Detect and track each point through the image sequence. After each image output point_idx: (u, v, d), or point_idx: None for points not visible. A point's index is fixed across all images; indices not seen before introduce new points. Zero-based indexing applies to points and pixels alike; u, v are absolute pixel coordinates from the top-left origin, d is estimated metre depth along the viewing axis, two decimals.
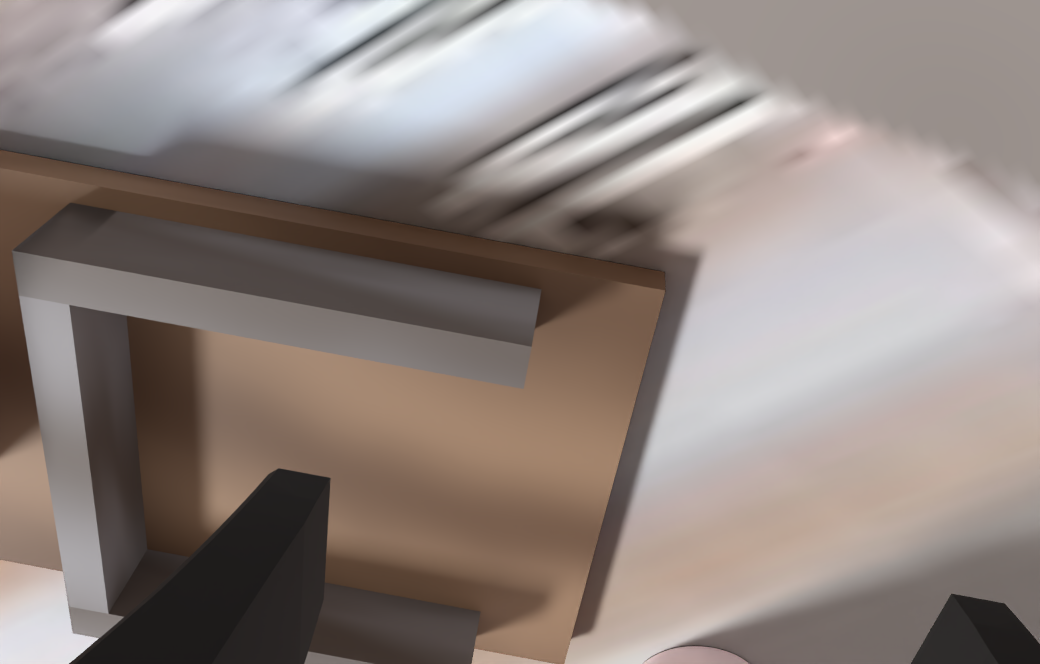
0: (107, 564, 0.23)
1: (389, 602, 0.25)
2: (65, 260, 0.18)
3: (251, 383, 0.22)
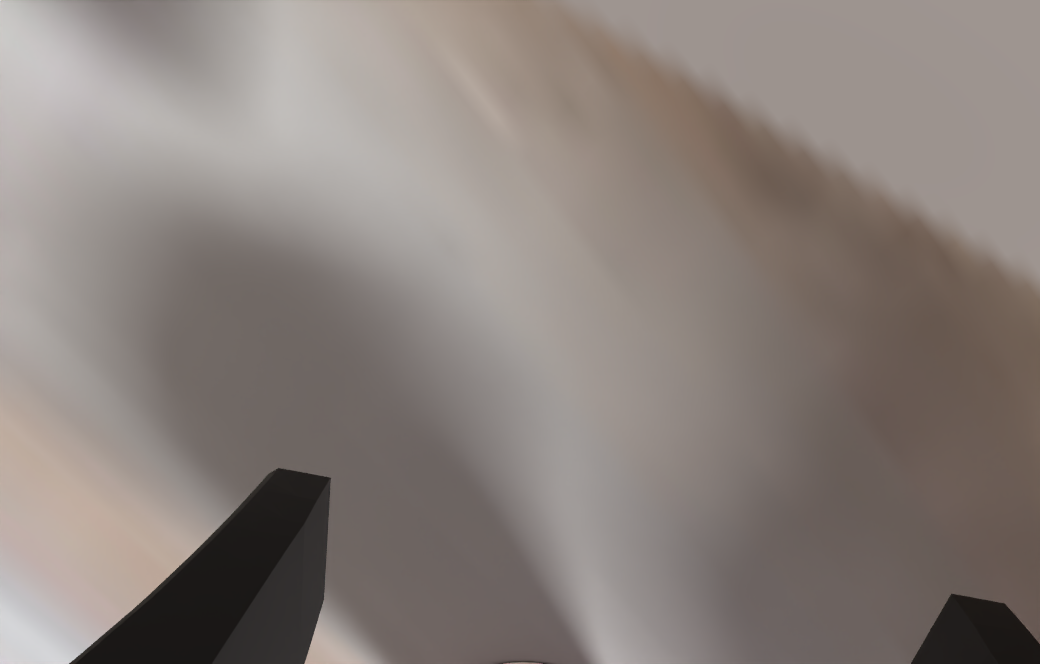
0: None
1: None
2: None
3: None
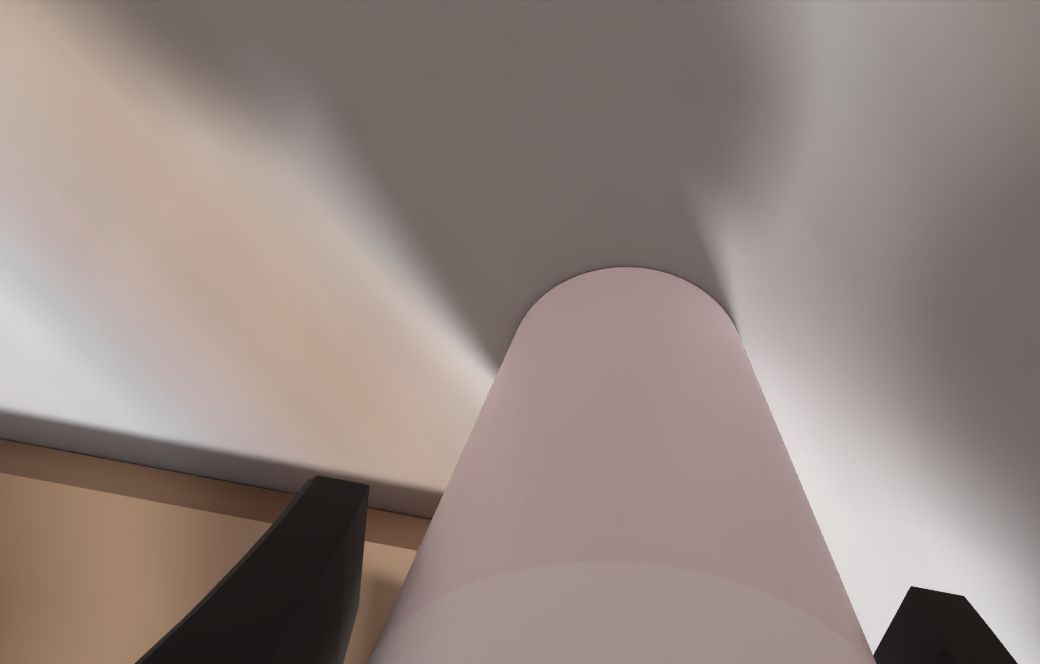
0: None
1: None
2: None
3: None
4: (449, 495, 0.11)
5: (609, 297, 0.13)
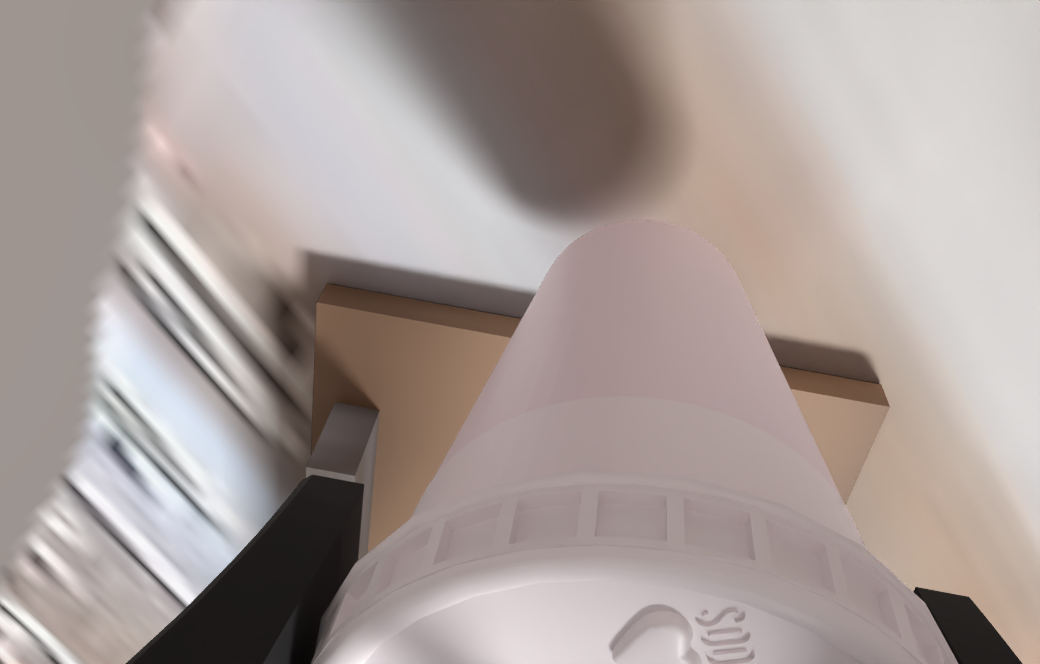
0: None
1: None
2: None
3: None
4: (492, 378, 0.13)
5: (630, 238, 0.15)
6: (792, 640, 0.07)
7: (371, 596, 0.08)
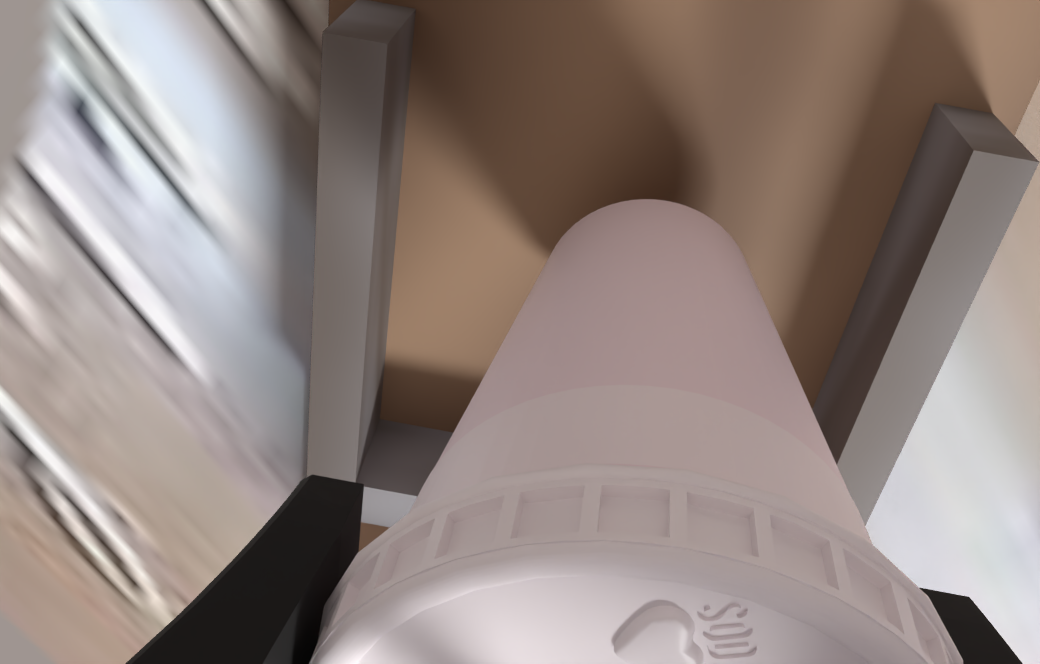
0: None
1: (888, 233, 0.17)
2: (307, 474, 0.19)
3: None
4: (496, 362, 0.12)
5: (636, 219, 0.15)
6: (794, 635, 0.07)
7: (373, 588, 0.08)
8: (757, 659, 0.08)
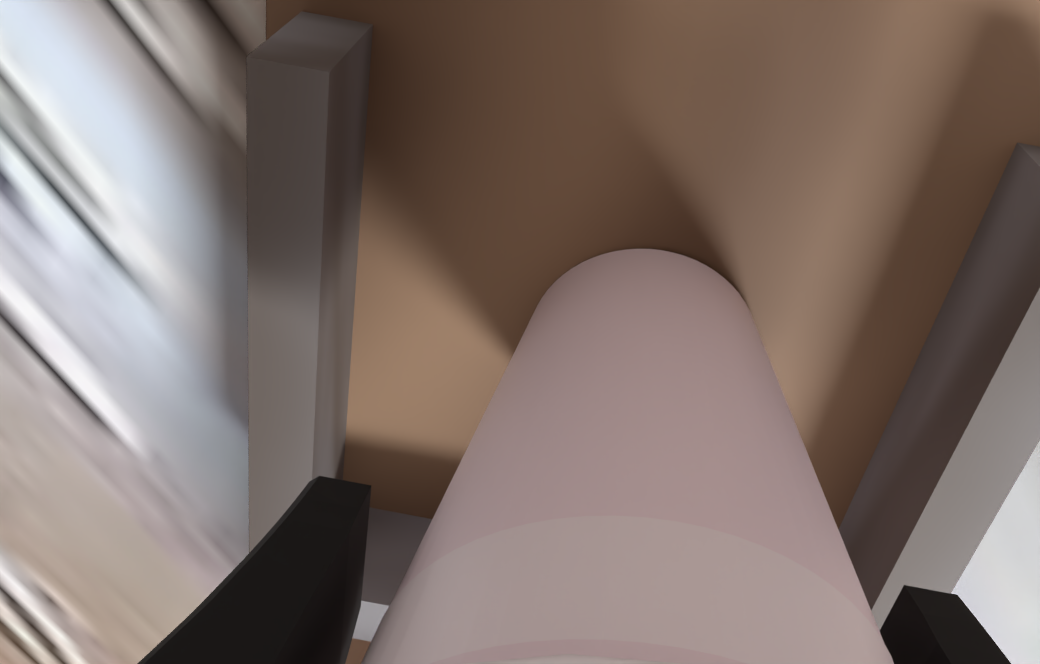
0: None
1: (953, 299, 0.14)
2: None
3: None
4: (470, 455, 0.11)
5: (630, 275, 0.13)
6: None
7: None
8: None
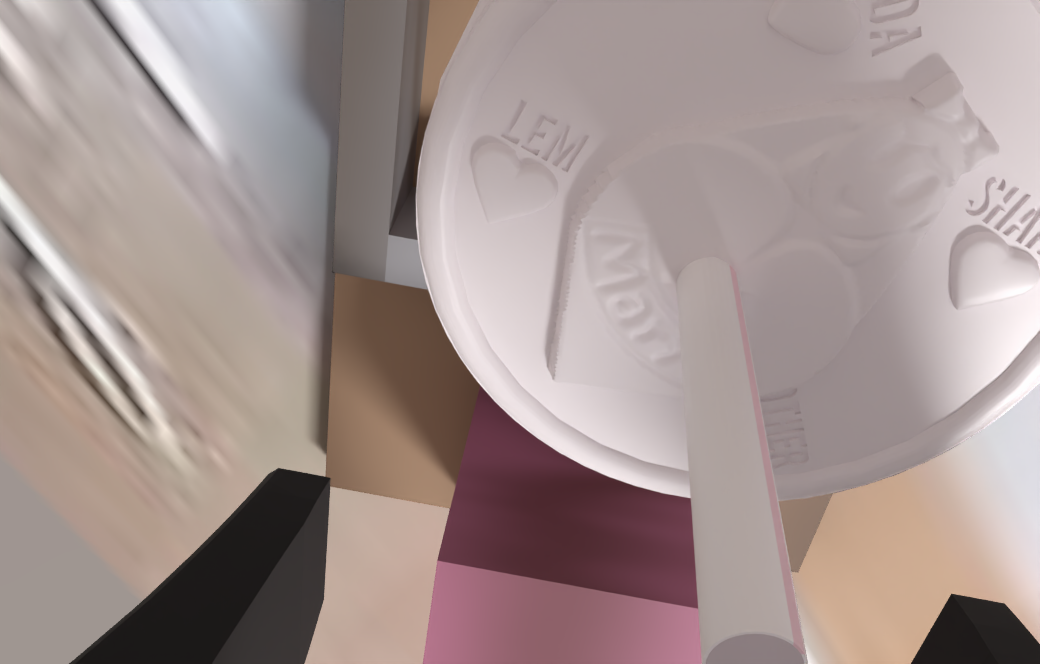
0: None
1: None
2: (336, 223, 0.17)
3: None
4: None
5: None
6: None
7: None
8: (917, 19, 0.07)
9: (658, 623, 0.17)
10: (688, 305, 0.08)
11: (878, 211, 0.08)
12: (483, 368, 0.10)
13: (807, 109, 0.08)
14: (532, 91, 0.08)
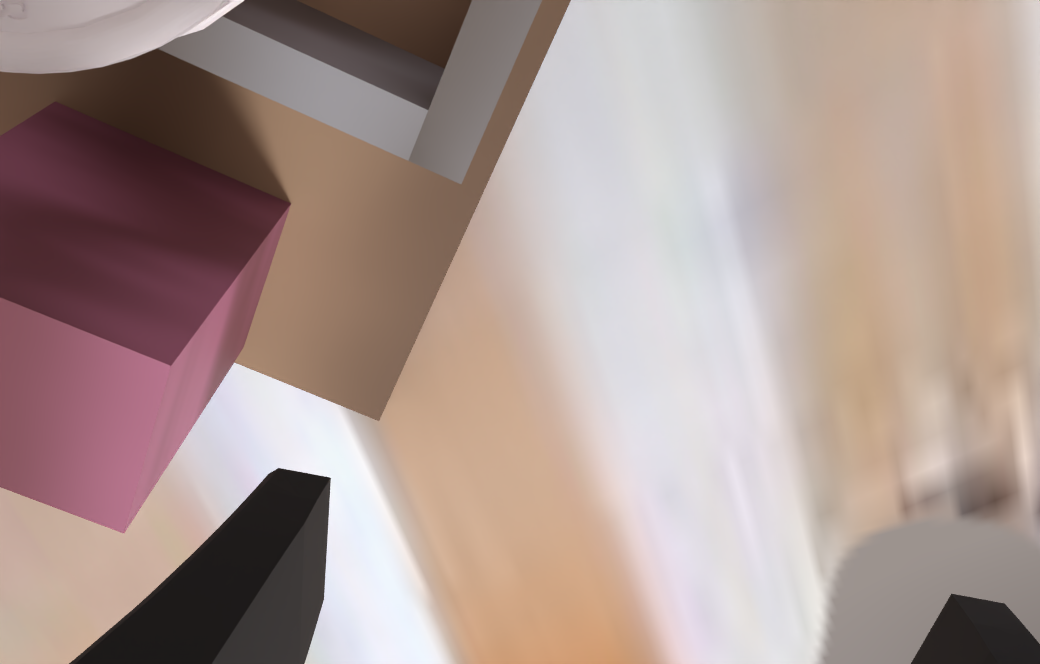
0: (347, 68, 0.16)
1: None
2: None
3: None
4: None
5: None
6: None
7: None
8: None
9: (99, 365, 0.15)
10: None
11: None
12: None
13: None
14: None
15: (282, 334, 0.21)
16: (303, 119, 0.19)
